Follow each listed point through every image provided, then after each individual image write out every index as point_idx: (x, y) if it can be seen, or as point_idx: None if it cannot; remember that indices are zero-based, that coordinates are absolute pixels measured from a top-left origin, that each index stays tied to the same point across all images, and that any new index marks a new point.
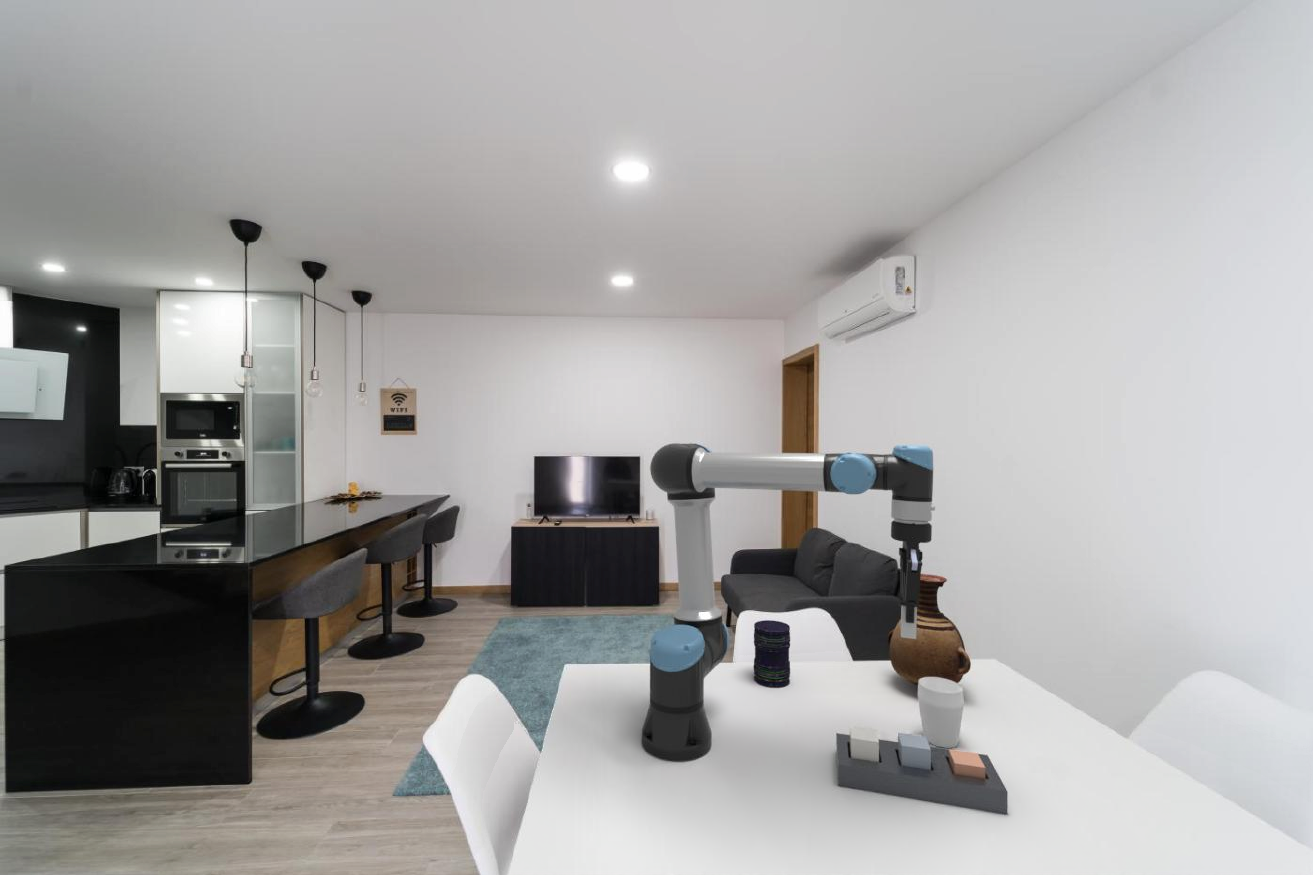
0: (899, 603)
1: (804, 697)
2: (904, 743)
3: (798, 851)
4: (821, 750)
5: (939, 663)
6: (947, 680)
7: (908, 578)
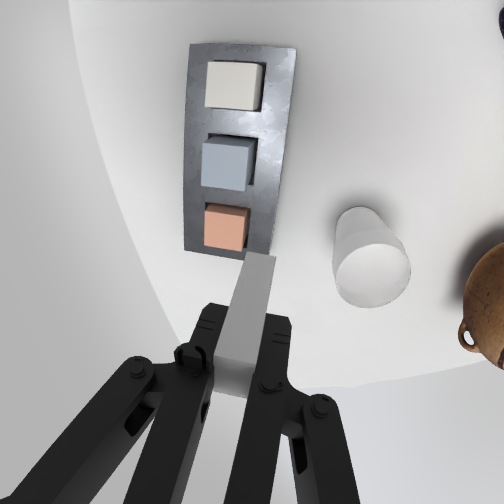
0: (206, 351)
1: (479, 60)
2: (210, 149)
3: (85, 23)
4: (299, 31)
5: (475, 307)
6: (396, 296)
7: (35, 470)
